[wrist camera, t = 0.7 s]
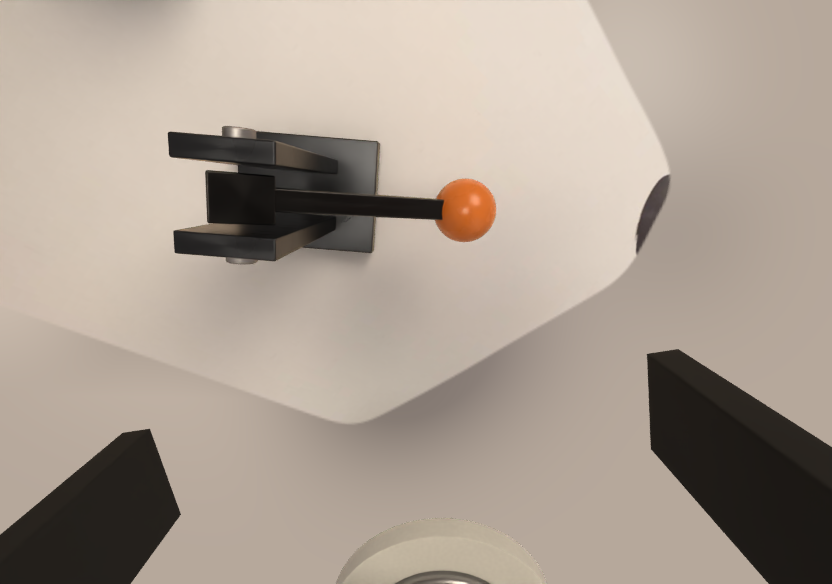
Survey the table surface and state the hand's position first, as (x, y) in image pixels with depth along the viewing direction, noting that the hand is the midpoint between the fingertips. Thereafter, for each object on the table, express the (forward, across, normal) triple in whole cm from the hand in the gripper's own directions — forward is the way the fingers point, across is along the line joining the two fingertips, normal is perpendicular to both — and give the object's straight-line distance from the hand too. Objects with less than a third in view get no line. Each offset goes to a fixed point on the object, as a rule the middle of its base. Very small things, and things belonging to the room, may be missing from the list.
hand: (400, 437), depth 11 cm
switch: (+14, +2, -6) cm, 16 cm away
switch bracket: (+23, +7, -7) cm, 25 cm away
